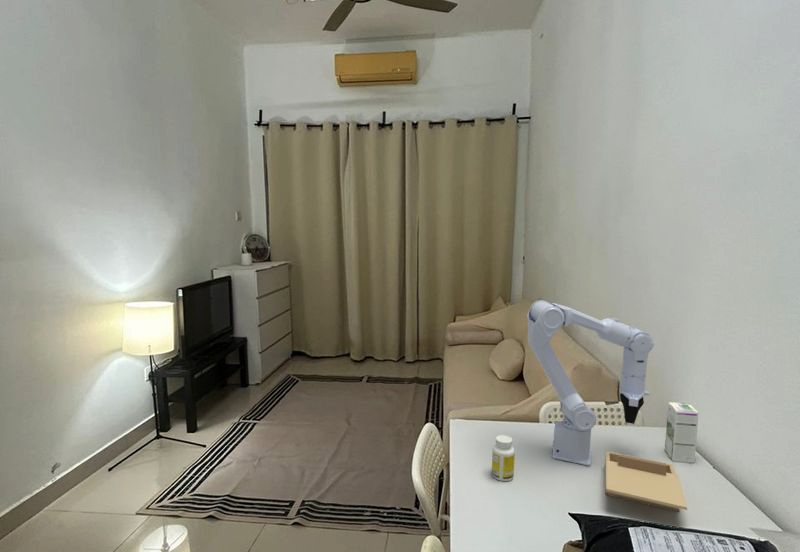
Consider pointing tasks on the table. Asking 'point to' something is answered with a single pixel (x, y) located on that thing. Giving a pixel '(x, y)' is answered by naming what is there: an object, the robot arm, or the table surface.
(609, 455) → the box
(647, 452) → the table surface
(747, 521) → the table surface
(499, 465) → the supplement bottle
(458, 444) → the table surface
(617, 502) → the table surface
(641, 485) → the lid
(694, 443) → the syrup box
